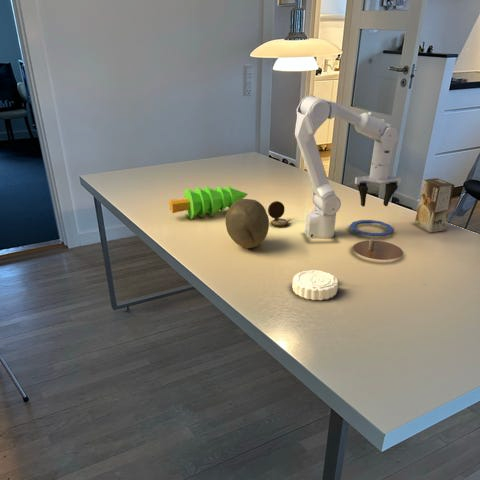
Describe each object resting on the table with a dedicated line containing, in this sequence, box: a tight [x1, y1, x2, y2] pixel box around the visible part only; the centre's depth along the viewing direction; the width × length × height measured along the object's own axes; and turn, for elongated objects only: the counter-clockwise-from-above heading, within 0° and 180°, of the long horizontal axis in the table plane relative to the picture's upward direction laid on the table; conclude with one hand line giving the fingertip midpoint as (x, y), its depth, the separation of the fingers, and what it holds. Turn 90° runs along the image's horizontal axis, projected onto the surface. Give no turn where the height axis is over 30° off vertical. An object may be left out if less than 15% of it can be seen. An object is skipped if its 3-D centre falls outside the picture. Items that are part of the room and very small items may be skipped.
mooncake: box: [291, 269, 339, 301], centre depth 130 cm, size 12×12×4 cm
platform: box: [352, 238, 404, 261], centre depth 152 cm, size 15×15×4 cm
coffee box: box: [414, 177, 455, 233], centre depth 169 cm, size 9×6×16 cm
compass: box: [267, 200, 294, 228], centre depth 173 cm, size 8×8×7 cm
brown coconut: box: [225, 198, 270, 249], centre depth 153 cm, size 14×14×15 cm
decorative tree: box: [168, 185, 249, 220], centre depth 179 cm, size 11×12×30 cm
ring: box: [349, 219, 394, 237], centre depth 168 cm, size 14×14×2 cm
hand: (374, 205), depth 162 cm, fingers open, 7 cm apart
